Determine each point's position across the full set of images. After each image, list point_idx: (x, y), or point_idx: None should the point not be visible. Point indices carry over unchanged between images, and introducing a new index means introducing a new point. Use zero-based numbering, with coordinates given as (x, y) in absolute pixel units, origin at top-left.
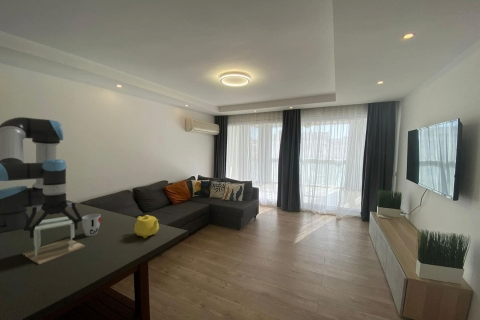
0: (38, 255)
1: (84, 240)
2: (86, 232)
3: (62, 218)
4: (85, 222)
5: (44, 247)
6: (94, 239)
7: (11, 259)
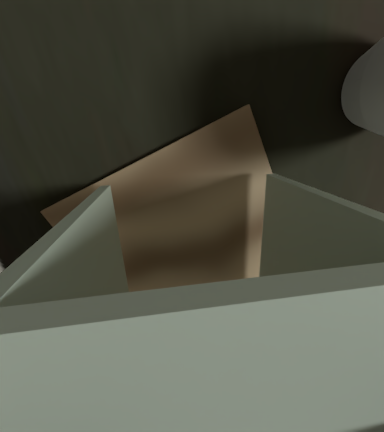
0: (132, 283)
1: (316, 187)
2: (364, 122)
3: (354, 367)
4: None
5: (135, 192)
6: (356, 203)
7: (16, 246)
